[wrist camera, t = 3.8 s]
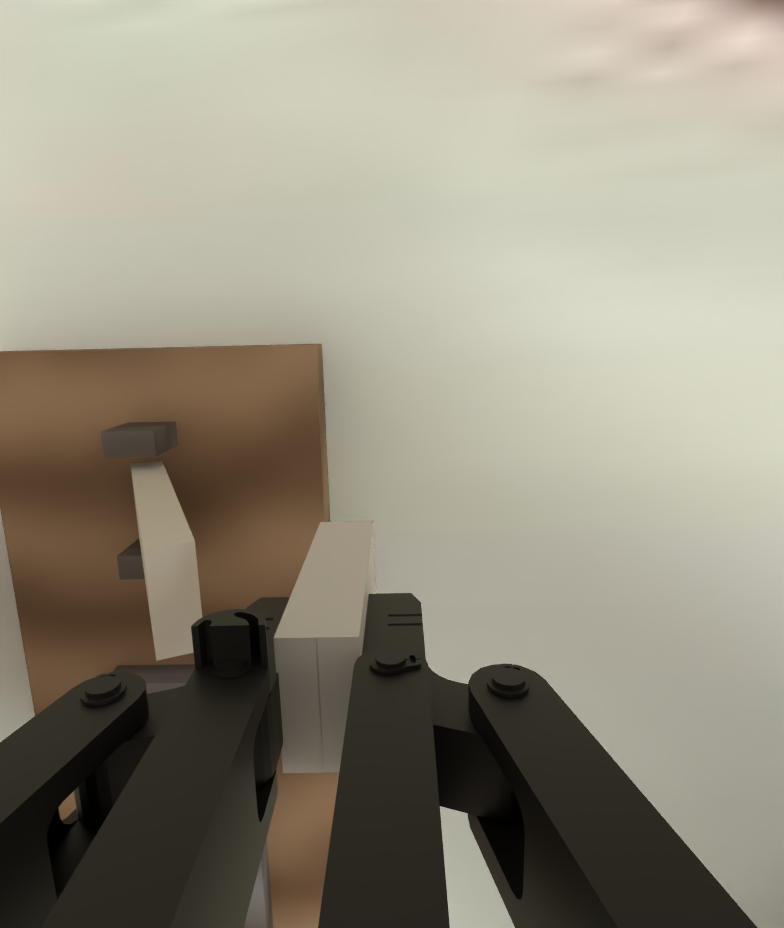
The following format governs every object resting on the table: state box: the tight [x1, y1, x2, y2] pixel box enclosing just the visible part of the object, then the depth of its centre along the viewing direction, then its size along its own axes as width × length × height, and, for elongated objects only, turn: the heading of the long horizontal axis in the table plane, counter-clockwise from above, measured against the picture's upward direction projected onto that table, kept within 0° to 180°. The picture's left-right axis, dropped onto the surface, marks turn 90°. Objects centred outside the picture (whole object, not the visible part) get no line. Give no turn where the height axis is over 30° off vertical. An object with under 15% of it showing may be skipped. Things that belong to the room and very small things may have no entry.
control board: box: [0, 344, 339, 928], centre depth 28 cm, size 36×14×4 cm, turn 1°
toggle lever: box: [130, 461, 202, 661], centre depth 20 cm, size 3×1×11 cm, turn 1°
